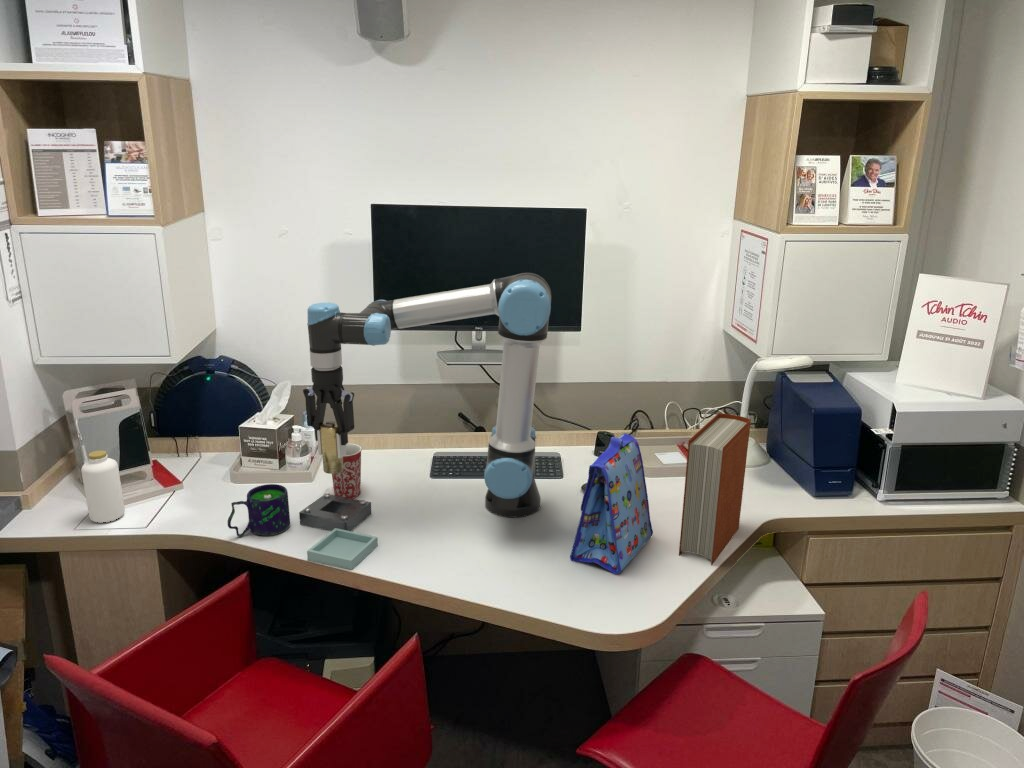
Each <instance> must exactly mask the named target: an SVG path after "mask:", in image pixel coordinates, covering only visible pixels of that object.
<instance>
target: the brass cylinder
mask: <svg viewBox="0 0 1024 768" xmlns="http://www.w3.org/2000/svg"><path fill="white" fill-rule="evenodd" d="M320 428H321V442H322V455H321V456H322V465H323V467H322V468H323V472H324V473H325V474H330V475H332V474H335V473H339V472H342V471H343V469H344V468H343V457H342V458H338V452H337V436H336V434H337V433H338V432H339V430H338V427H337V423H336V421H334V420H328V421H326V422H325V423H324V422H323V424H322V425H321V426H320Z"/></svg>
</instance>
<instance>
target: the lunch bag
mask: <svg viewBox="0 0 1024 768" xmlns="http://www.w3.org/2000/svg"><path fill="white" fill-rule="evenodd" d="M587 475H588V479H587V483H586V486H585V491H584V493H583V496H582V500H581V504H580V511H581V515H580V518H579V521H578V522H579V523H578V526H577V529H576V533H575V538H574V540H573V544H572V547H571V548H572V549H571V552H570V554H569V559H570V561H573V562H577V563H578V562H583V563H591V564H593V563H594V564H597V565H599V566H600V567H602V568H603V569H605V570H606V571H608V572H611V573H613V574H614V575H619V574H620V573H621V572H622V571H623V570H624V568H626V566H627V565H628V564H629V563H630V562H631V561H632V559H634V557H636V555H637V554H638V553H639V551H640V550H641V549H642V548H643V547H644V546H645V544H646V543H648V541H649V540H650V539H651V537H652V536H654V535H653V534H654V531H653V527H652V521H651V515H650V504H649V497H648V495H649V494H648V490H647V489H648V488H647V482H646V475H645V469H644V462H643V457H642V452H641V448H640V445H639V443H638V440H637V439H636V438H635V437H634V436H633V435H631V434H629V433H623V434H622V435H621V436H620V437H616V436H612V437H611V438H610V441H609V444H608V446H607V448H606V449H605V451H604V452H602V453H601V454H600V455H599V456H598V457H597V458H596V459H595V461H593V463H591V465H589V467H588V474H587Z"/></svg>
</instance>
